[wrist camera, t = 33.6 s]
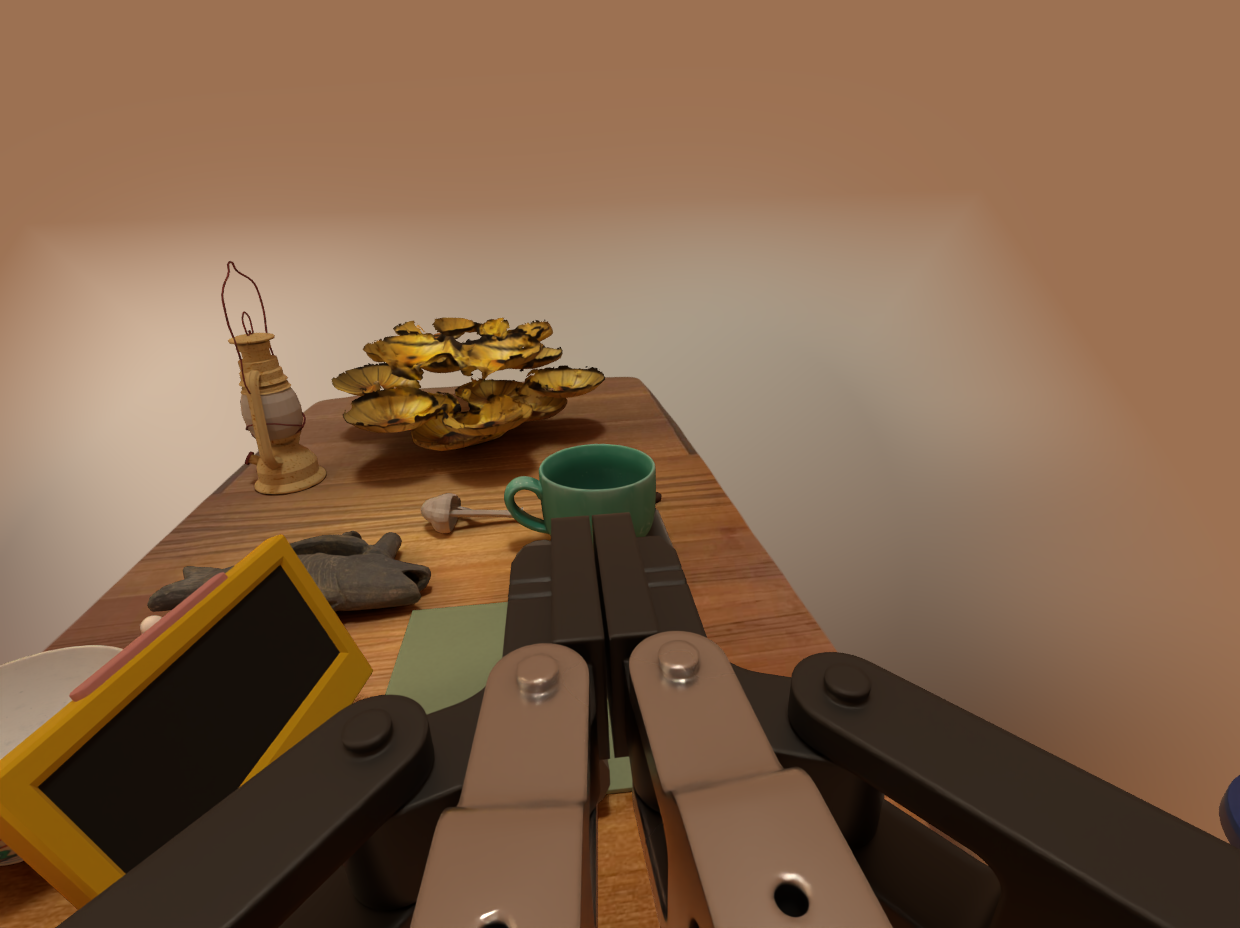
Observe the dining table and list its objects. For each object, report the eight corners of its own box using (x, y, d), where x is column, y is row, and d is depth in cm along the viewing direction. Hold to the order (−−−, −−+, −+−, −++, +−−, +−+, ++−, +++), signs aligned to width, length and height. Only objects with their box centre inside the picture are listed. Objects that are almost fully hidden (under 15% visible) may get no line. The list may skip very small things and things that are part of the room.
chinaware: (206, 702, 48) (174, 624, 45) (139, 885, 36) (88, 795, 32) (-29, 758, 44) (-82, 677, 41) (-203, 990, 31) (-301, 898, 28)
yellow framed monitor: (198, 1014, 30) (70, 794, 23) (54, 998, 31) (-108, 780, 24) (383, 703, 48) (339, 530, 41) (290, 697, 49) (233, 527, 42)
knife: (630, 498, 79) (630, 493, 78) (660, 495, 79) (660, 491, 79) (649, 556, 66) (649, 551, 66) (685, 553, 66) (685, 547, 66)
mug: (647, 510, 76) (646, 439, 72) (664, 566, 64) (664, 486, 60) (514, 519, 74) (506, 448, 71) (507, 578, 63) (497, 497, 59)
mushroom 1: (336, 522, 75) (302, 387, 68) (348, 413, 114) (327, 319, 107) (641, 466, 88) (639, 348, 81) (559, 385, 126) (553, 300, 119)
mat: (619, 595, 60) (619, 591, 60) (654, 788, 40) (654, 784, 40) (413, 613, 58) (412, 610, 58) (345, 825, 39) (343, 820, 38)
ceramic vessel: (407, 582, 54) (450, 517, 68) (124, 585, 54) (226, 520, 68) (413, 631, 55) (454, 558, 70) (138, 635, 55) (235, 561, 69)
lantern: (268, 466, 92) (207, 258, 79) (336, 461, 93) (287, 255, 81) (235, 503, 81) (158, 268, 68) (312, 496, 82) (251, 264, 70)
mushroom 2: (522, 502, 70) (415, 496, 68) (520, 540, 71) (414, 536, 69) (524, 489, 77) (427, 484, 75) (522, 525, 78) (425, 520, 76)
